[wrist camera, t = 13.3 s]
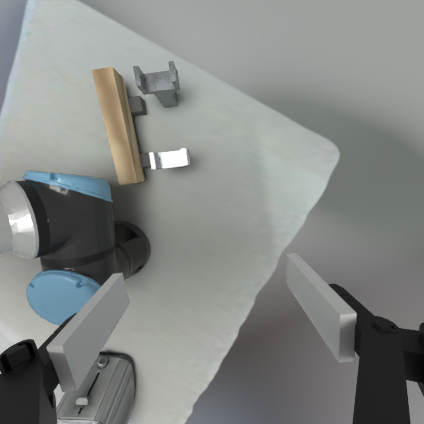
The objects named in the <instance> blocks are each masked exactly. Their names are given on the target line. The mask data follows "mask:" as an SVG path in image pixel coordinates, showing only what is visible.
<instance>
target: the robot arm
mask: <svg viewBox="0 0 424 424" xmlns="http://www.w3.org/2000/svg"><path fill="white" fill-rule="evenodd" d="M24 179H25V181H9V182H7V183H6V184H5V185H4V186H3V187H1V188H0V257H1V256H5V255H9V254H13V255H17V256H20V257H23V258H25V259H29V260H30V259H34V258H38V257H40V260H41V266H42V272H41V273H39V274H37V275H36V276H35V277H34V278H33V280H32V282H31V283H30V284H29V285H28V288H27V299H28V302H29V304H30V306H31V308H32V309H33V310H34V311H35V312H36V313H37V314H38V315H39V316H40V317H42V318H44V319H46V320H47V321H49V322H51V323H53V324H57V325H60V326H59V328H58V329H57V330H56V331H55V332H54V334H52V335H51V336H50V337H49V338H48V339H47V340H46V341H45V342H44V343H43V344H42V345H41V347H40V348H39V349H37V347H36V344H35V342H34V340H32V339H28V340H23V341H21V342H18V343H16V344H14V345H13V346H11V347H9V348H8V349H7V350H5V351H4V352H3V353H2V354H1V355H0V371H1V373H2V374H0V424H57V413H56V399H55V394H54V392H53V391H54V390H55V388H56V387H57V385H58V384H60V386H61V389H62V392H67V391H77V390H78V389H79V387H80V385H81V384H82V382H83V380H84V379H85V377H86V375H87V374H88V372H89V370H90V369H91V367H92V365H93V364H94V362H95V360H96V358H97V357H98V355H99V353H100V352H101V350H102V348H103V347H104V345H105V343H106V342H107V340H108V338H109V337H110V335H111V333H112V331H113V330H114V328H115V326H116V325H117V323H118V321H119V320H120V318H121V316H122V315H123V313H124V311H125V310H126V308H127V306H128V304H129V303H130V302H129V298H128V294H127V290H126V286H125V280H126V279H127V278H129V277H131V276H133V275H134V274H136V273H138V272H139V271H140V270H141V269H142V268H143V267H144V265H145V264H146V262H147V261H148V259H149V255H150V245H149V242H148V239H147V237H146V236H145V234H144V233H143V232H142V231H141V230H140V229H139V228H137V227H136V226H134V225H132V224H130V223H126V222H114V218H113V207H112V203H113V200H112V198H111V191H110V185H109V183H108V182H107V181H106V180H104V179H103V178H98V177H90V176H81V175H70V174H58V173H48V172H39V171H26V173H25V176H24ZM286 266H287V285H288V287H289V288H290V290H291V291H292V293H293V294H294V296H295V297H296V299H297V300H298V302H299V303H300V305H301V306H302V308H303V309H304V311H305V312H306V314H307V316H308V317H309V319H310V320H311V322H312V323H313V324H314V326H315V328H316V329H317V330H318V332H319V334H320V335H321V336H322V338H323V340H324V341H325V343H326V344H327V346H328V347H329V349H330V350H331V352H332V353H333V355H334V356H335V358H336V359H337V361H338V362H339V363H340V362H349V361H354V356H355V352H356V353H357V354H358V356H359V357H360V358H359V368H358V377H357V387H356V396H355V406H354V415H353V424H410V415H409V405H408V395H407V387H406V380H409V381H414V382H417V383H418V385H419V387H420V390H421V392H422V394H423V396H424V323H421V325H420V327H419V331H416V330H409V329H402V328H399V327H397V326H396V325H395V324H394V323H393V322H391V321H389V320H388V319H385V318H382V317H379V316H374V315H373V314H372V313H371V312H369V311H368V310H367V309H366V308H365V307H364V306H363V305H362V304H361V303H360V302H358V301H357V300H355V298H354V297H353V296H352V295H350V294H349V293H348V292H347V291H346V290H345V289H344V288H342V287H340V286H338V285H336V284H327V283H326V282H325V281H323V279H321V277H320V276H319V275H318V274H317V273H316V272H314V270H312V269H311V268H310V267H309V266H308V265H307V264H306V263H305V262H304V261H303V260H302V259H301V258H300V257H299V256H298V255H297V254H296V253H291V254H286Z"/></svg>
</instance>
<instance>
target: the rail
mask: <svg viewBox="0 0 424 424" xmlns="http://www.w3.org/2000/svg"><path fill="white" fill-rule="evenodd" d="M92 73H93V77H94V82H95V86H96V90H97V94H98V98H99V102H100V107H101V111H102V115H103V119H104V123H105V127H106V131H107V136H108V140H109V144H110V148H111V152H112V156H113V161H114V165H115V169H116V173H117V177H118V181H119V185H123V184H130V183H137V182H143V181H145V177H144V173H143V168H142V163H141V159H140V154H139V149H138V144H137V140H136V135H135V130H134V125H133V121H132V116H131V111H130V106H129V102H128V97H127V92H126V88H125V83H124V78H123V77H122V76H121V75H120V74H119V73H118V72H117V71H116V70H115V69H114V68H113V67H108V68H102V69H95V70H92Z"/></svg>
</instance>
